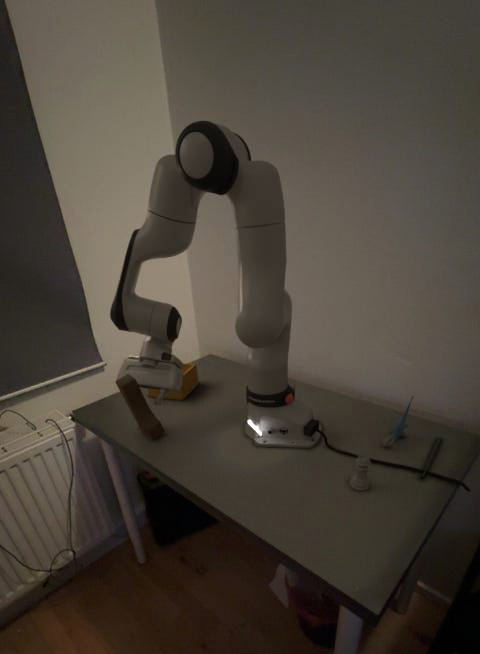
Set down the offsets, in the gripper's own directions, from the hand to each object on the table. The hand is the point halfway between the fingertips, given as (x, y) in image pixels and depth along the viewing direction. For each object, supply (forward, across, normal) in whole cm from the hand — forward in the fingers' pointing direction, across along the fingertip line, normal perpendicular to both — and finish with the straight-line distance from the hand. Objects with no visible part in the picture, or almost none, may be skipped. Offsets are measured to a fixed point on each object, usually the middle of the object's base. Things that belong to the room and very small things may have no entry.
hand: (142, 402), depth 101 cm
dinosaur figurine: (-3, +70, +17) cm, 72 cm away
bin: (-12, -7, +27) cm, 30 cm away
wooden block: (+7, +1, +7) cm, 10 cm away
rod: (+1, +78, +12) cm, 79 cm away
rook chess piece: (+12, +62, +2) cm, 63 cm away
